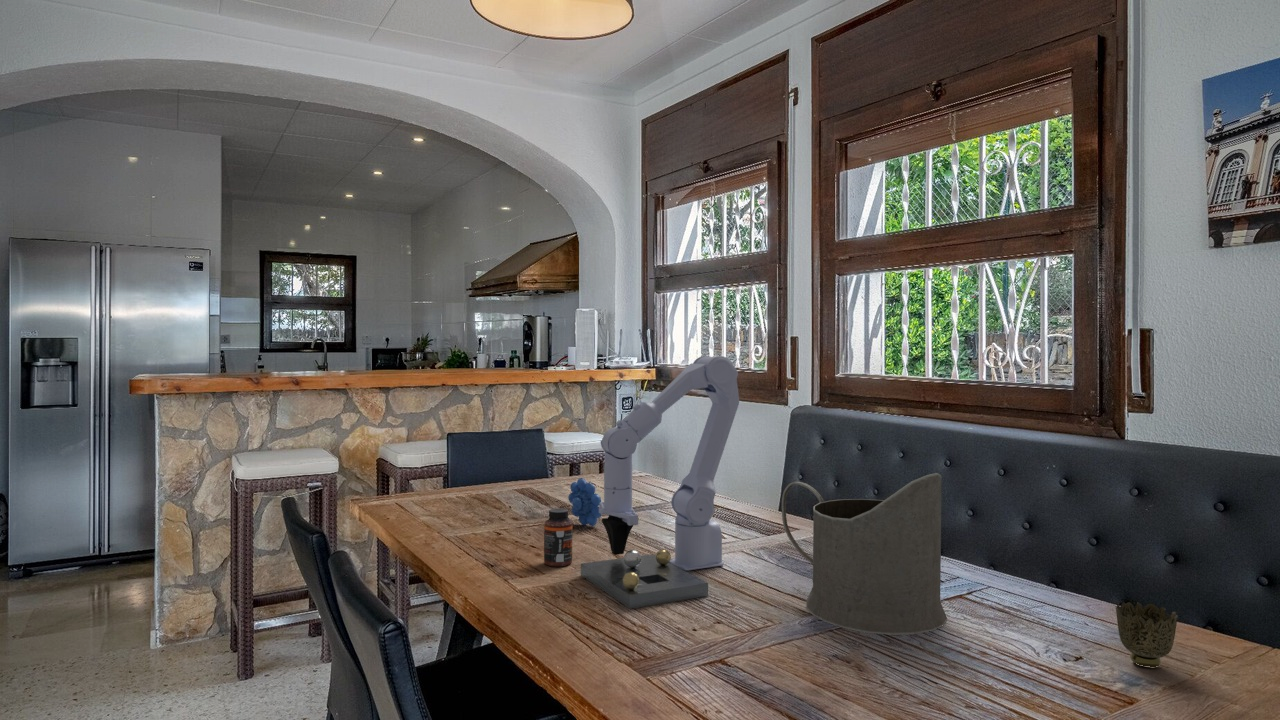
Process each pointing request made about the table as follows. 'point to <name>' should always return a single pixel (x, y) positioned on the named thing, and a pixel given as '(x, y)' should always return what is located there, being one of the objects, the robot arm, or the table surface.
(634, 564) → the steel ball
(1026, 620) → the table surface
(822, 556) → the pitcher
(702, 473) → the robot arm
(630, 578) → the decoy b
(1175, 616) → the cup
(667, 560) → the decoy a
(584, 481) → the grapes
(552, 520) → the supplement bottle
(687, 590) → the plate
